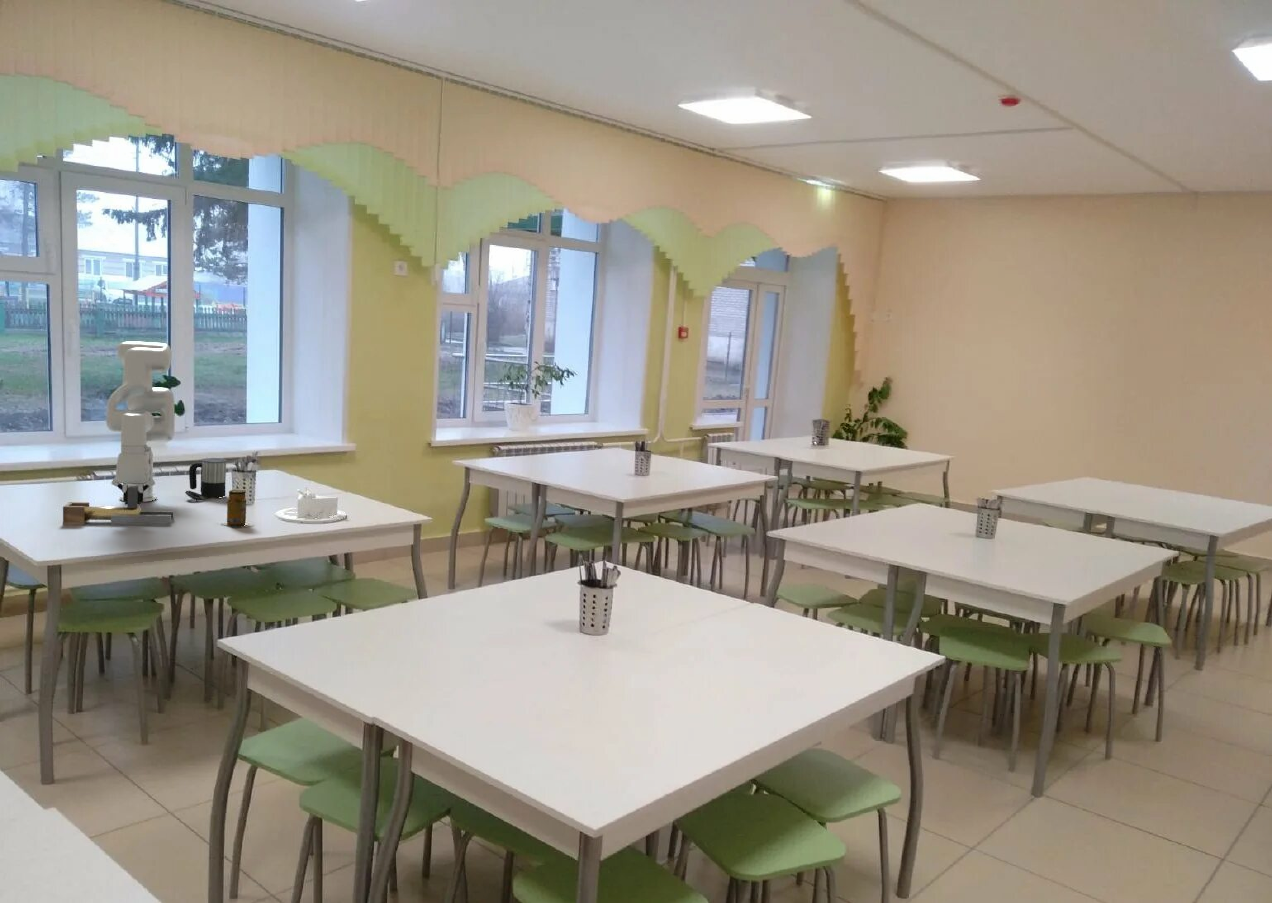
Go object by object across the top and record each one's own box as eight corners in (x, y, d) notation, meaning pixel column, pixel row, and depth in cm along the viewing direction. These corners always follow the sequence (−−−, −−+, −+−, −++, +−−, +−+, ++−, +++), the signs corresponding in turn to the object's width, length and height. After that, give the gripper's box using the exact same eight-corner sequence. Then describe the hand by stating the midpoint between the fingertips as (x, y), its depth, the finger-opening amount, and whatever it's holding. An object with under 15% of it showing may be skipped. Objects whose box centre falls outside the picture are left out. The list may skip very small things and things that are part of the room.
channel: (115, 520, 326) (115, 510, 326) (173, 520, 332) (173, 511, 332) (110, 525, 319) (110, 515, 318) (170, 525, 325) (170, 515, 324)
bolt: (74, 518, 321) (74, 484, 319) (140, 518, 327) (141, 485, 326) (71, 521, 317) (71, 487, 315) (138, 521, 323) (138, 488, 322)
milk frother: (227, 494, 382) (227, 458, 380) (224, 502, 368) (225, 464, 366) (187, 494, 377) (188, 457, 375) (184, 502, 363) (184, 463, 361)
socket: (69, 519, 322) (69, 502, 321) (89, 519, 324) (89, 502, 323) (63, 524, 314) (63, 506, 314) (83, 524, 316) (83, 507, 316)
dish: (272, 523, 339) (273, 492, 338) (278, 509, 363) (278, 480, 362) (345, 524, 346) (346, 494, 345) (345, 510, 370) (346, 482, 369)
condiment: (239, 521, 337) (239, 488, 336) (254, 526, 333) (255, 492, 331) (220, 524, 331) (221, 490, 330) (235, 528, 327) (236, 494, 325)
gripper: (162, 449, 328) (161, 501, 330) (108, 447, 322) (108, 501, 325) (158, 452, 320) (158, 506, 323) (103, 450, 315) (103, 505, 318)
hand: (133, 503), depth 324 cm, fingers closed on bolt, 3 cm apart
